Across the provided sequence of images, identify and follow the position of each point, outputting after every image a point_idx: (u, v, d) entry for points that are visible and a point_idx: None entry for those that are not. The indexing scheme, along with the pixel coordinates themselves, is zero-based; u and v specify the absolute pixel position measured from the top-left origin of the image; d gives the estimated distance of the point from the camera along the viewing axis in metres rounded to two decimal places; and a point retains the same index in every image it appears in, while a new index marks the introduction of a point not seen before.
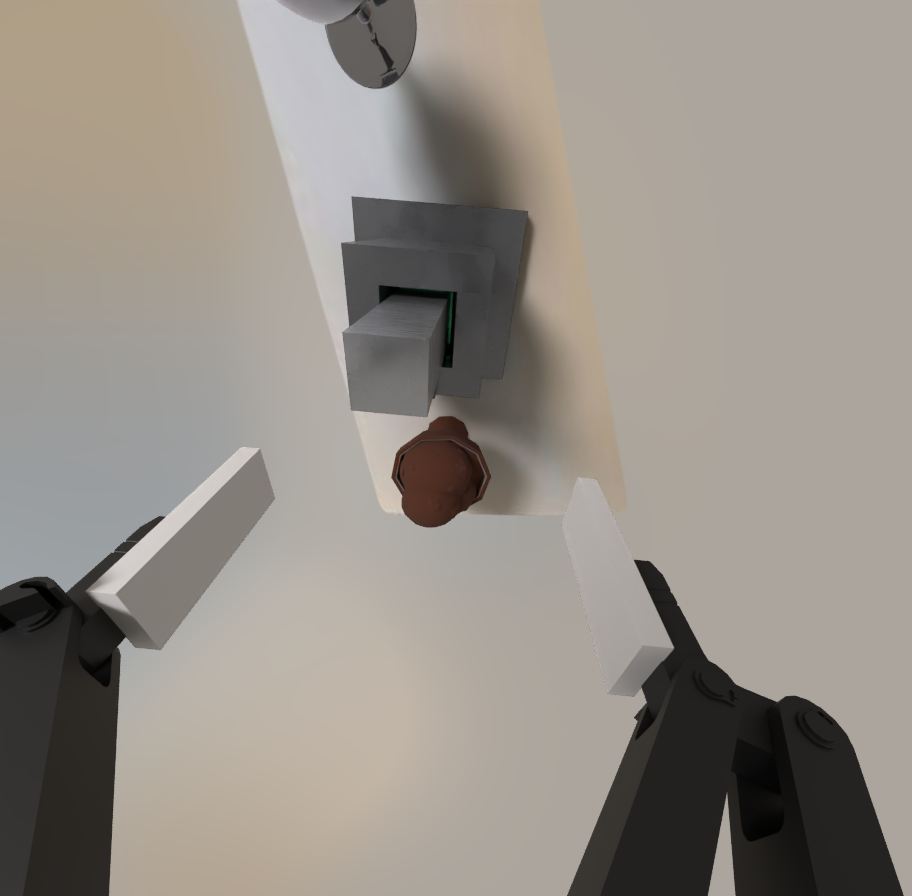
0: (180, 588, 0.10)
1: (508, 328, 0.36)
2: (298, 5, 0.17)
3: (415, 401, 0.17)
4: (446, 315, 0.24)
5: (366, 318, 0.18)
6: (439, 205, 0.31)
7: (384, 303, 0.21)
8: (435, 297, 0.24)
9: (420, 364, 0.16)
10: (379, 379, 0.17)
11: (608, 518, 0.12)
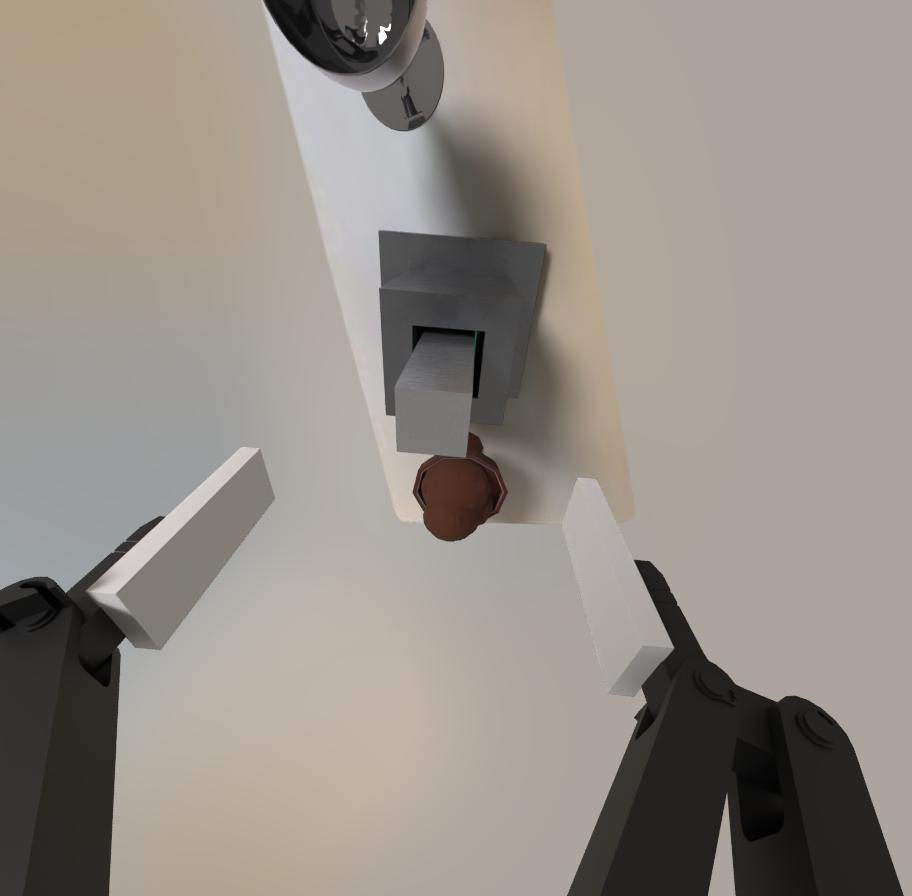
0: (180, 588, 0.10)
1: (524, 351, 0.38)
2: (349, 84, 0.19)
3: (456, 444, 0.19)
4: None
5: (409, 367, 0.20)
6: (462, 238, 0.32)
7: (419, 345, 0.23)
8: (463, 334, 0.26)
9: (463, 414, 0.18)
10: (425, 425, 0.18)
11: (608, 518, 0.12)
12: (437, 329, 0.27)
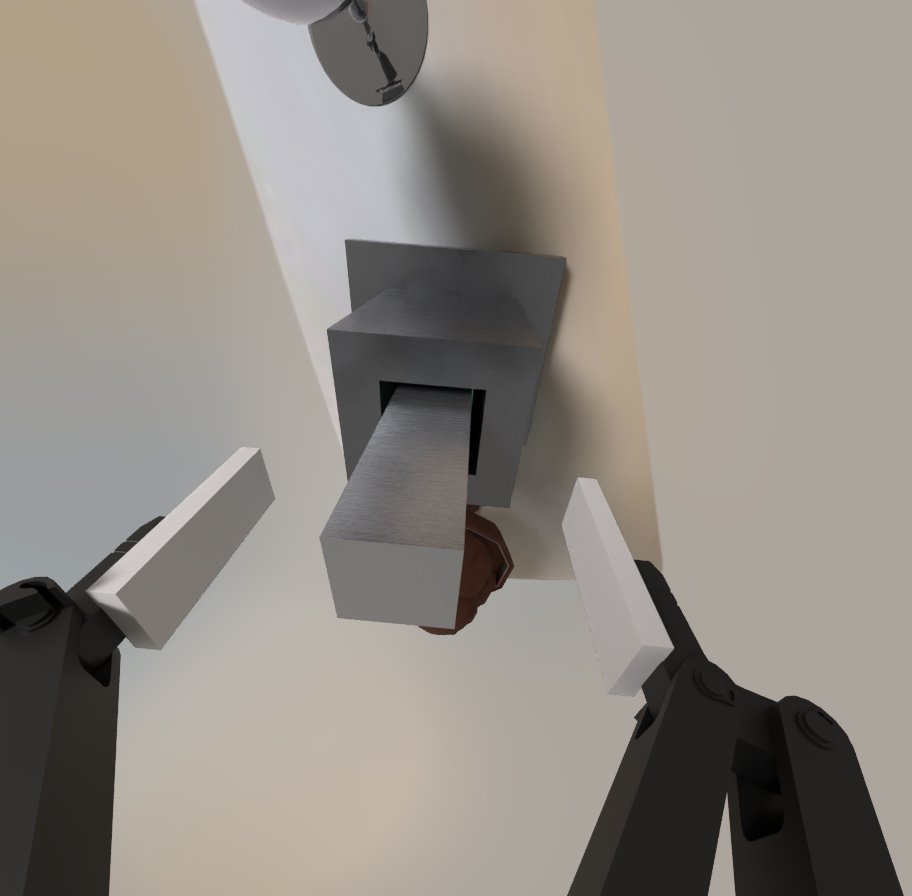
0: (180, 588, 0.10)
1: (535, 390, 0.30)
2: None
3: (437, 613, 0.11)
4: None
5: (360, 473, 0.12)
6: (455, 250, 0.24)
7: (387, 416, 0.15)
8: (455, 389, 0.18)
9: (447, 576, 0.10)
10: (381, 589, 0.10)
11: (608, 518, 0.12)
12: None
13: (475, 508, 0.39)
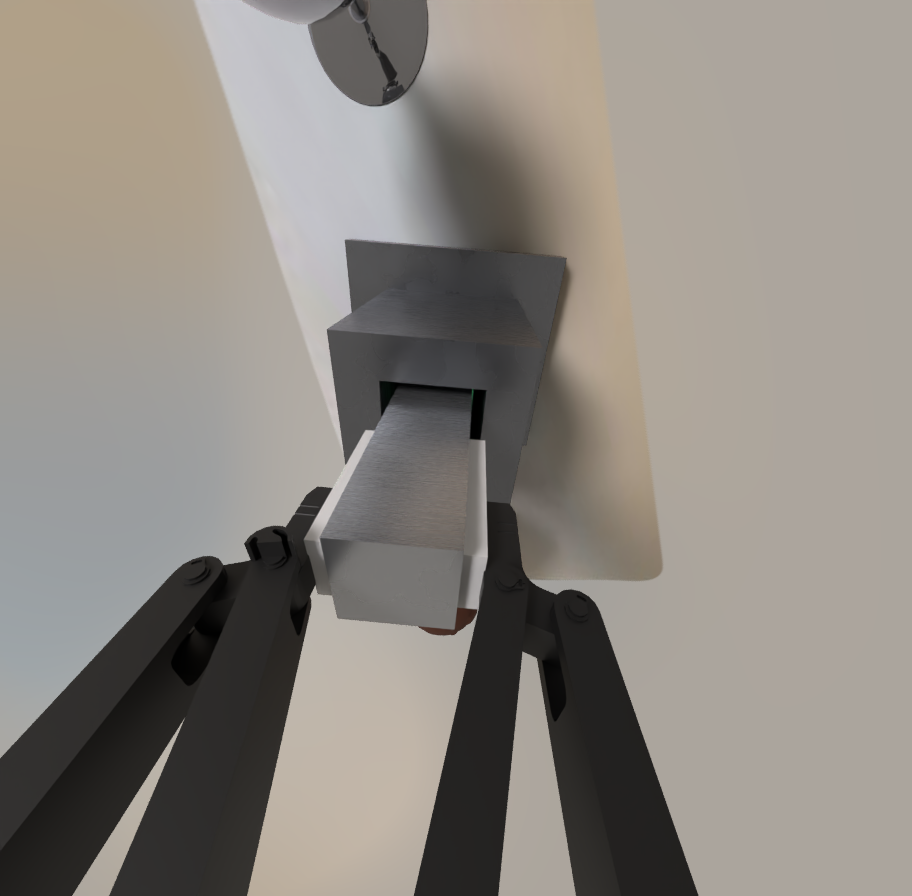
0: None
1: (535, 390, 0.30)
2: None
3: (437, 613, 0.11)
4: None
5: (360, 473, 0.12)
6: (455, 250, 0.24)
7: (387, 416, 0.15)
8: (455, 389, 0.18)
9: (447, 577, 0.10)
10: (381, 589, 0.10)
11: (480, 469, 0.14)
12: None
13: None
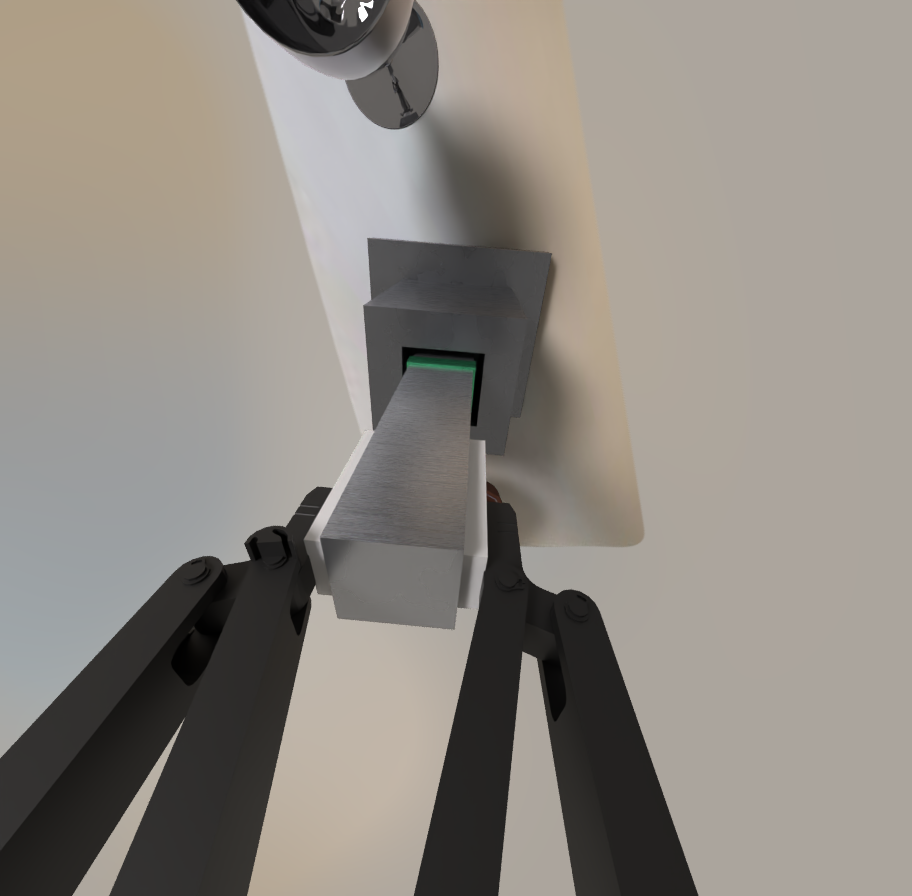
0: None
1: (527, 368, 0.35)
2: (323, 68, 0.16)
3: (437, 613, 0.11)
4: None
5: (360, 473, 0.12)
6: (459, 247, 0.29)
7: (387, 416, 0.15)
8: (455, 389, 0.18)
9: (447, 576, 0.10)
10: (381, 589, 0.10)
11: (480, 469, 0.14)
12: (418, 381, 0.19)
13: None
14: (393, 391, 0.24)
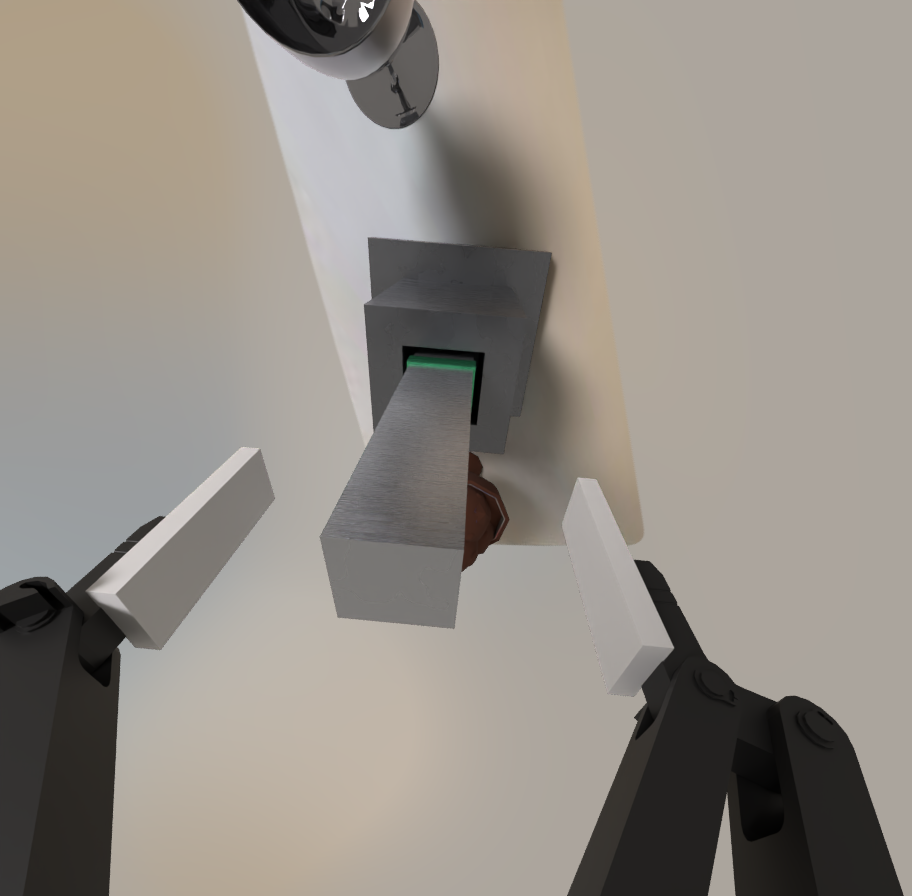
0: (180, 588, 0.10)
1: (527, 367, 0.35)
2: (324, 68, 0.16)
3: (437, 612, 0.11)
4: None
5: (361, 473, 0.12)
6: (459, 246, 0.29)
7: (387, 416, 0.15)
8: (455, 389, 0.18)
9: (447, 575, 0.10)
10: (381, 588, 0.10)
11: (608, 518, 0.12)
12: (418, 380, 0.19)
13: None
14: (393, 390, 0.24)
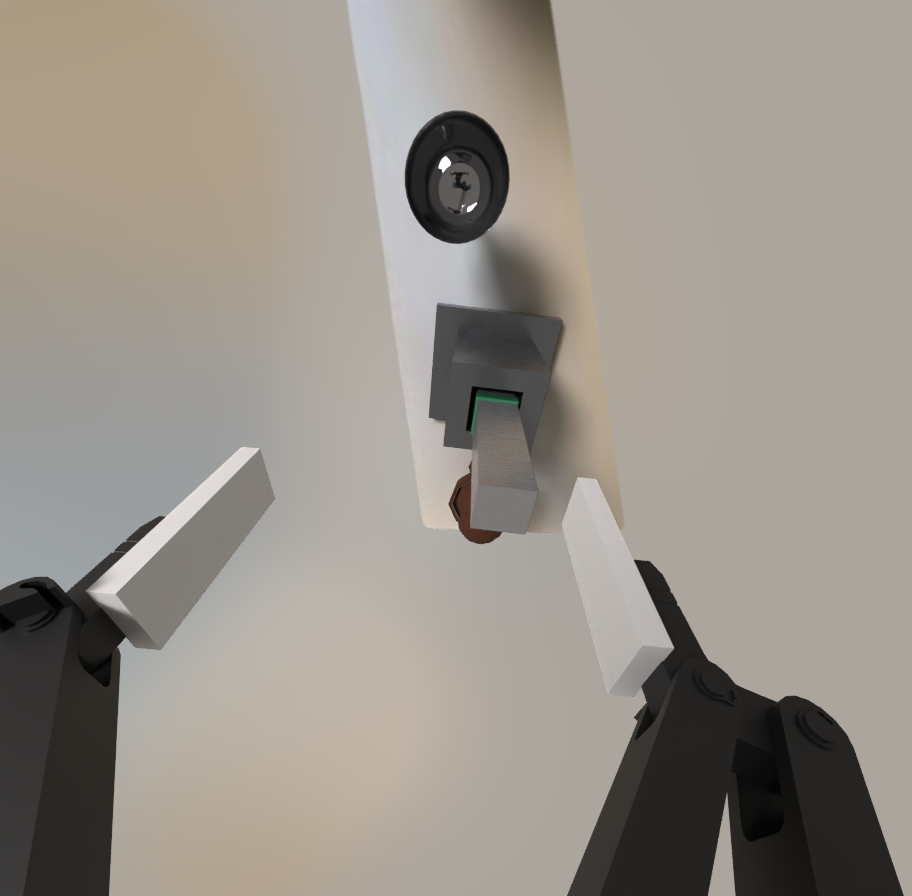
0: (180, 588, 0.10)
1: None
2: (450, 242, 0.29)
3: (519, 524, 0.24)
4: None
5: (481, 460, 0.25)
6: (499, 313, 0.43)
7: (480, 431, 0.28)
8: (510, 416, 0.31)
9: (528, 504, 0.23)
10: (496, 511, 0.23)
11: (608, 518, 0.12)
12: (487, 410, 0.32)
13: None
14: (462, 412, 0.37)
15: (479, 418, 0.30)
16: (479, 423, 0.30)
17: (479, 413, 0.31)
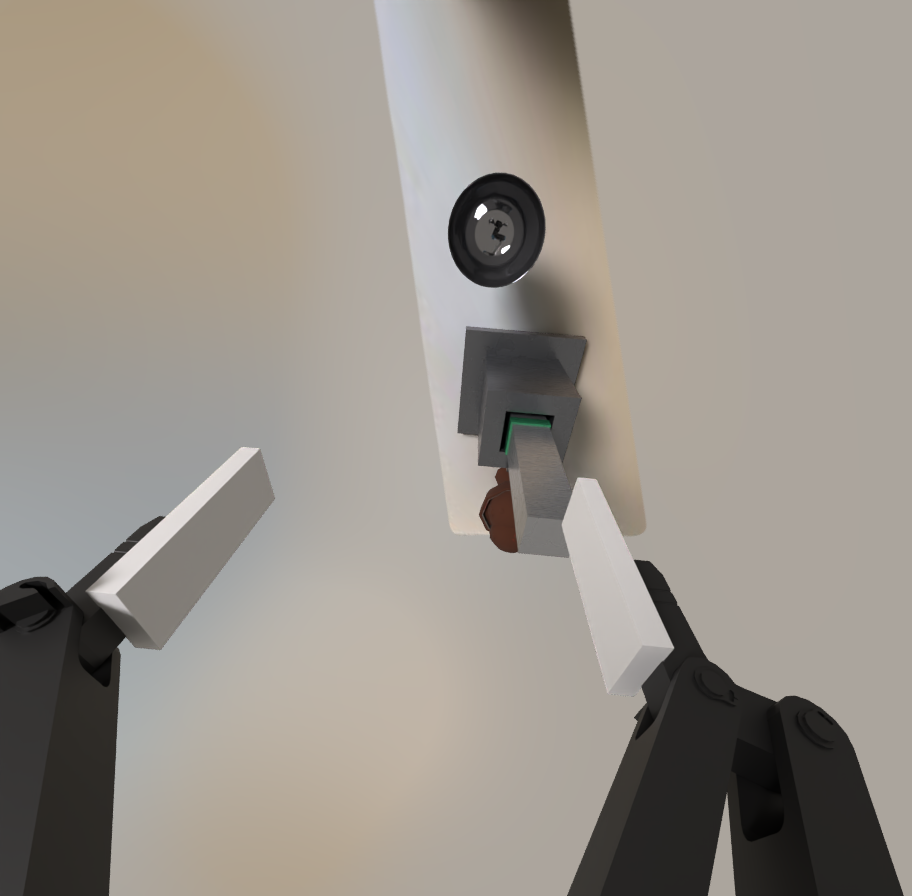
0: (180, 588, 0.10)
1: None
2: (487, 284, 0.31)
3: (563, 549, 0.26)
4: None
5: (526, 491, 0.27)
6: (526, 335, 0.45)
7: (520, 460, 0.31)
8: (545, 442, 0.34)
9: None
10: (543, 538, 0.26)
11: (608, 518, 0.12)
12: (523, 436, 0.34)
13: None
14: (496, 435, 0.39)
15: (517, 445, 0.33)
16: (518, 451, 0.32)
17: (516, 440, 0.34)
